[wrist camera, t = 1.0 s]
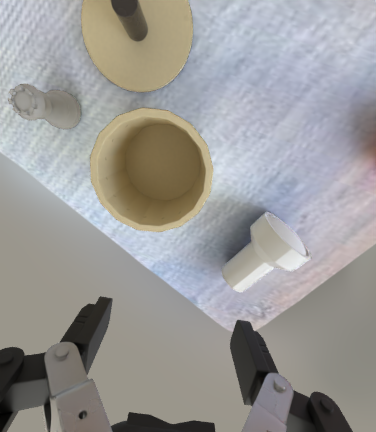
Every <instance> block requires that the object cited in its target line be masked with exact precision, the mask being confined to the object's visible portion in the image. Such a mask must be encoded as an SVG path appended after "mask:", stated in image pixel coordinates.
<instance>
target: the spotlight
mask: <svg viewBox="0 0 376 432" xmlns="http://www.w3.org/2000/svg"><path fill="white" fill-rule="evenodd" d="M250 231H251V242H250V243H249V244H248V245H246V246H245V247H244V248H243V249H242V250H241V251H240V252H239V253H237V254H236V255H235V256H234V257H233V258H232V259H231V260H230V261H228V262H227V263H226V264H225V265H224V266H223V267H222V275H223V278H224V279H225V281H226V282H227V284H228V285H229V286H230V287H231V288H232V289H234V290H235V291H237V292H240V293H242V292H244V291H245V290H247V289H248V288H249V287H251V286H252V285H253V284H255V283H256V282H257V281H259V280H260V279H261V278H263V277H264V276H265V275H267V274H268V273H269V272H270V271H272V270H273V269H274V268H278V269H282V270H286V271H291V272H292V271H294V270H296V269H297V268H299V267H300V266H301V265H303V264H304V263H306V262H307V261H308V260H310V259H311V258H312V257H311V253H310V251H309V249H308V248H307V246H306V245H305V244H304V242H303V241H302V240H301V238H300V237H299V236H298V235H297V234H296V233H295V232H294V231H293V230H292V229H291V228H290V227H289V226H288V225H287V224H286V223H285V222H283V221H282V220H281V219H280V218H278V217H277V216H275V215H274V214H272V213H270V212H265V213H264V214H263V215H262V216H261V217H260V218H258V219H257V220H256V221H255V222H254V223H253V224H252V225H251V227H250Z"/></svg>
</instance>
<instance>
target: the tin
mask: <svg viewBox="0 0 376 432" xmlns="http://www.w3.org/2000/svg"><path fill="white" fill-rule="evenodd" d="M90 168H91V183H92V185H93V187H94V189H95V192H96V194H97V196H98V198H99V201H100V203H101V204H102V205H103V206H104V207H105V208H106V209H107V210H108V211H109V213H110V214H111V215H112V216H113V217H114V218H115V219H116V220H118V221H120V222H122V223H124V224H126V225H128V226H130V227H132V228H134V229H136V230H142V231H152V232H163V231H166V230H170V229H173V228H177V227H180V226H182V225H184V224H185V223H186V222H187V221H189V220H190V219H191V218H193V217H194V216H195V215H197V214H198V213H199V212H200V210H201V208H202V207H203V205H204V203H205V201H206V200H207V198H208V196H209V194H210V192H211V184H212V177H213V165H212V162H211V158H210V154H209V150H208V146H207V144H206V143H205V141H204V140H203V139H202V137H201V136H200V135H199V133H198V132H197V131H196V129H195V128H194V127H193V125H192V124H191V123H189V122H187V121H185V120H184V119H182V118H180V117H179V116H177V115H175V114H173V113H172V112H170V111H168V110H160V109H151V108H139V109H136V110H133V111H130V112H127V113H124V114H121V115H118V116H116V117H115V118H114V119H113V120H112V121H111V122H110V123H109V124H108V125H107V126H106V127H105V128H104V129H103V130H102V131H101V132H100V133H99V135H98V137H97V140H96V143H95V145H94V148H93V150H92V153H91V156H90Z"/></svg>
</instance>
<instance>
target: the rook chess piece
mask: <svg viewBox="0 0 376 432" xmlns="http://www.w3.org/2000/svg"><path fill="white" fill-rule="evenodd" d="M9 93H10V94H11V95H12V97H11V99H9V98H8V101H9V104H12V105H13V107H14V108H13V110H14V111H15V112H16V113H18V114H19V115H20V116H21V117H22V118H25V119H27V120H37V119H45V120H46V121H48V122H49V123H50V124H51V125H52V126H55V127H57V128H61V129H71V128H73V127H75V126H76V125H77V124H78V122H79V121H80V116H81V111H80V106H79V104H78V102H77V100H76V99H75V98H74V97H73V96H72V95H71V94H69V93H67V92H65V91H60V90H51V91H49V92H47V93H44V92H42V91H39V90H37V89H36V88H35V87H34V86H31V85H29V84H20V85H18V86H16V87H15V89H11V90H10V91H9Z"/></svg>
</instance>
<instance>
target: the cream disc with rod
mask: <svg viewBox="0 0 376 432" xmlns="http://www.w3.org/2000/svg"><path fill="white" fill-rule="evenodd" d="M81 25H82V33H83V38H84V42H85V45H86V48H87V51H88V53H89V55H90V57H91V59H92V61H93V62H94V64H95V65H96V67H97V68H98V69H99V71H100V72H101V73H102V74H103V75H104V76H105V77H106V78H107V79H109V80H110V81H111V82H113V83H114V84H116V85H117V86H119V87H121V88H123V89H126V90H129V91H133V92H151V91H155V90H158V89H160V88H162V87H164V86H166V85H167V84H169V83H170V82H171V81H172V80H174V78H175V77H176V76H177V75H178V74H179V73H180V71H181V70H182V68H183V67H184V65H185V63H186V61H187V58H188V56H189V53H190V49H191V45H192V37H193V22H192V14H191V9H190V6H189V2H188V0H83V4H82V12H81Z"/></svg>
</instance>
